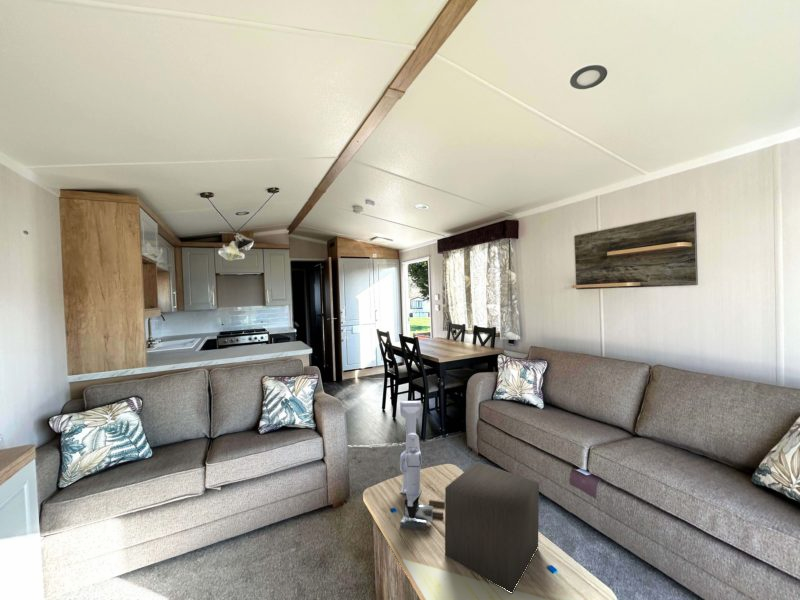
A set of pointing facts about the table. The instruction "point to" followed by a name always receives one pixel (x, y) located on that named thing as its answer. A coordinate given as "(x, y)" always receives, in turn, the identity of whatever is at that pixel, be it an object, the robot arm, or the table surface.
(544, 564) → the table surface
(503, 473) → the wood block
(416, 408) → the robot arm
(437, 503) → the brown piece
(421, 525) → the cradle
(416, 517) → the grey metal cylinder
